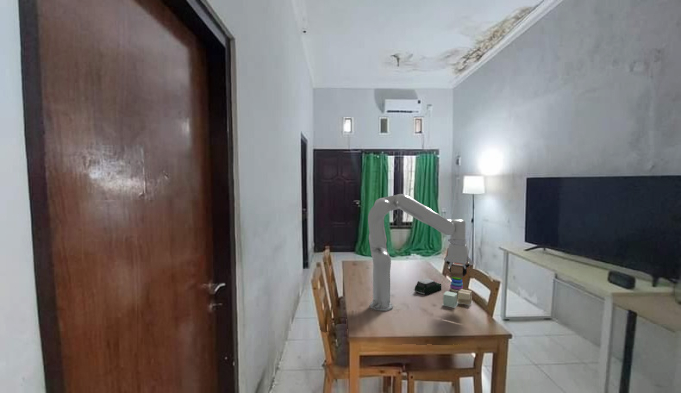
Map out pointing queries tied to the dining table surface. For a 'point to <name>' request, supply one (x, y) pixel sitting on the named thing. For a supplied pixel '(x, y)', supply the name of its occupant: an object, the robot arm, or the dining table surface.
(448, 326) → the dining table surface
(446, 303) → the sage block
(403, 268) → the dining table surface
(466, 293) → the beech block
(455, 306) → the blueprint mat
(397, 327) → the dining table surface
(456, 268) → the walnut block
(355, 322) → the dining table surface
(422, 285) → the miniature car
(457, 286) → the stacking toy
